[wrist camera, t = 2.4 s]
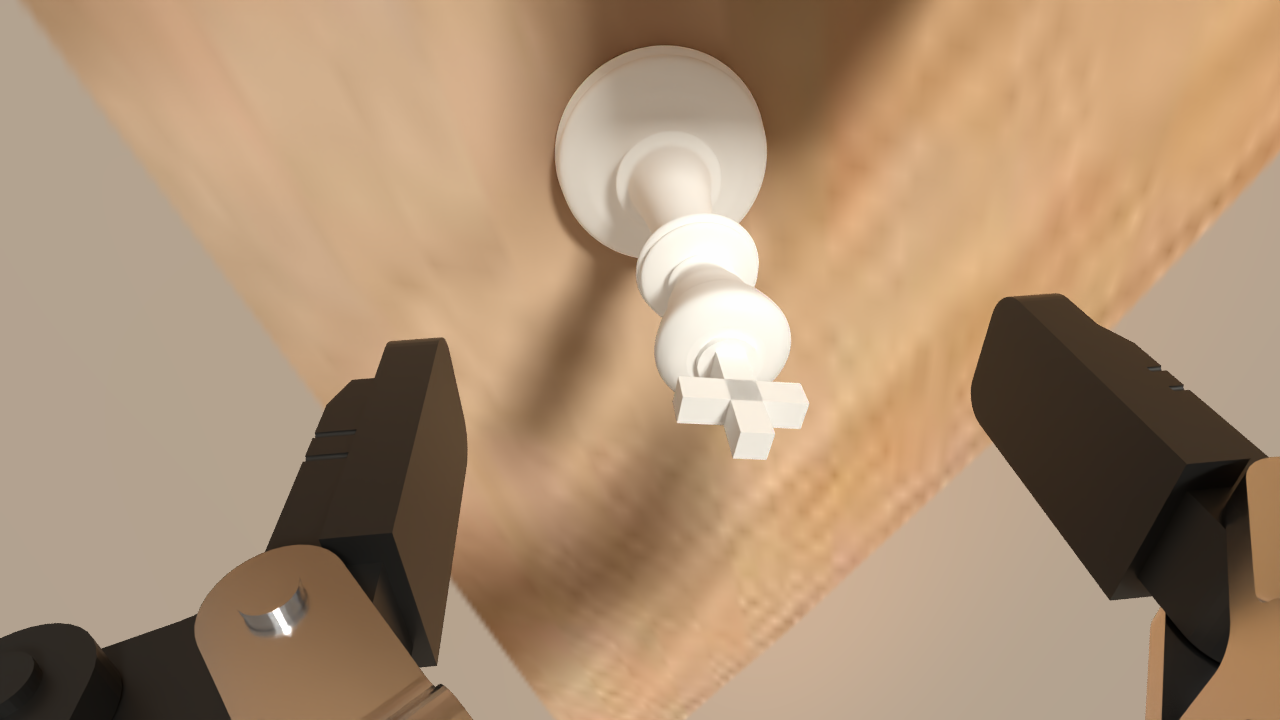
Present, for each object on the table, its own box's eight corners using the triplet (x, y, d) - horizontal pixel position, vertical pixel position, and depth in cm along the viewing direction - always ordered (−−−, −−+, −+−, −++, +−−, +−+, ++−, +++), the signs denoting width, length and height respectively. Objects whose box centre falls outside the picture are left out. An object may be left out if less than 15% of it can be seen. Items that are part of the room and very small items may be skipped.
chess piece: (563, 30, 15) (570, 249, 7) (787, 59, 16) (1024, 288, 8) (547, 241, 18) (540, 572, 10) (738, 258, 19) (875, 576, 11)
